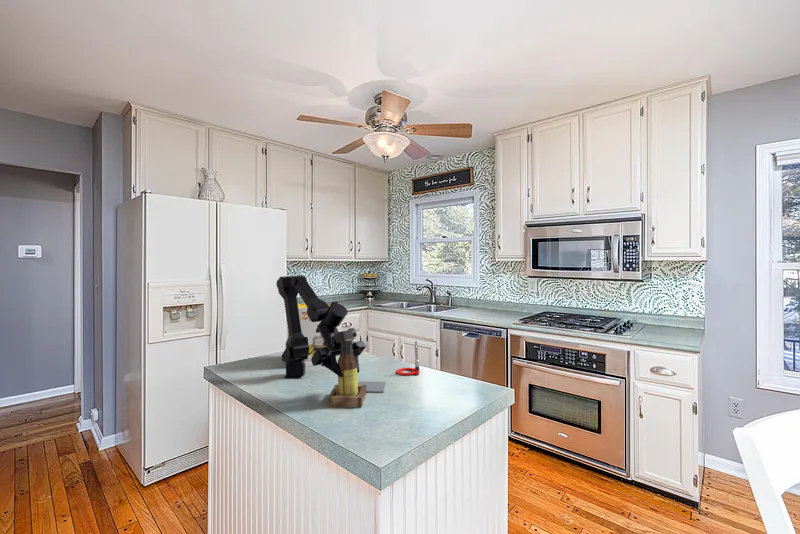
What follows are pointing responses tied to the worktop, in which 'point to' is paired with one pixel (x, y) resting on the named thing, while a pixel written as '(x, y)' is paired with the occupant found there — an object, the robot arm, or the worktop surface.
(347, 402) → the holder frame
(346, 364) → the sauce bottle
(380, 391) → the slate tile
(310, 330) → the packaging box
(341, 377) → the robot arm
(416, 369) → the tow hook
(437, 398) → the worktop surface
